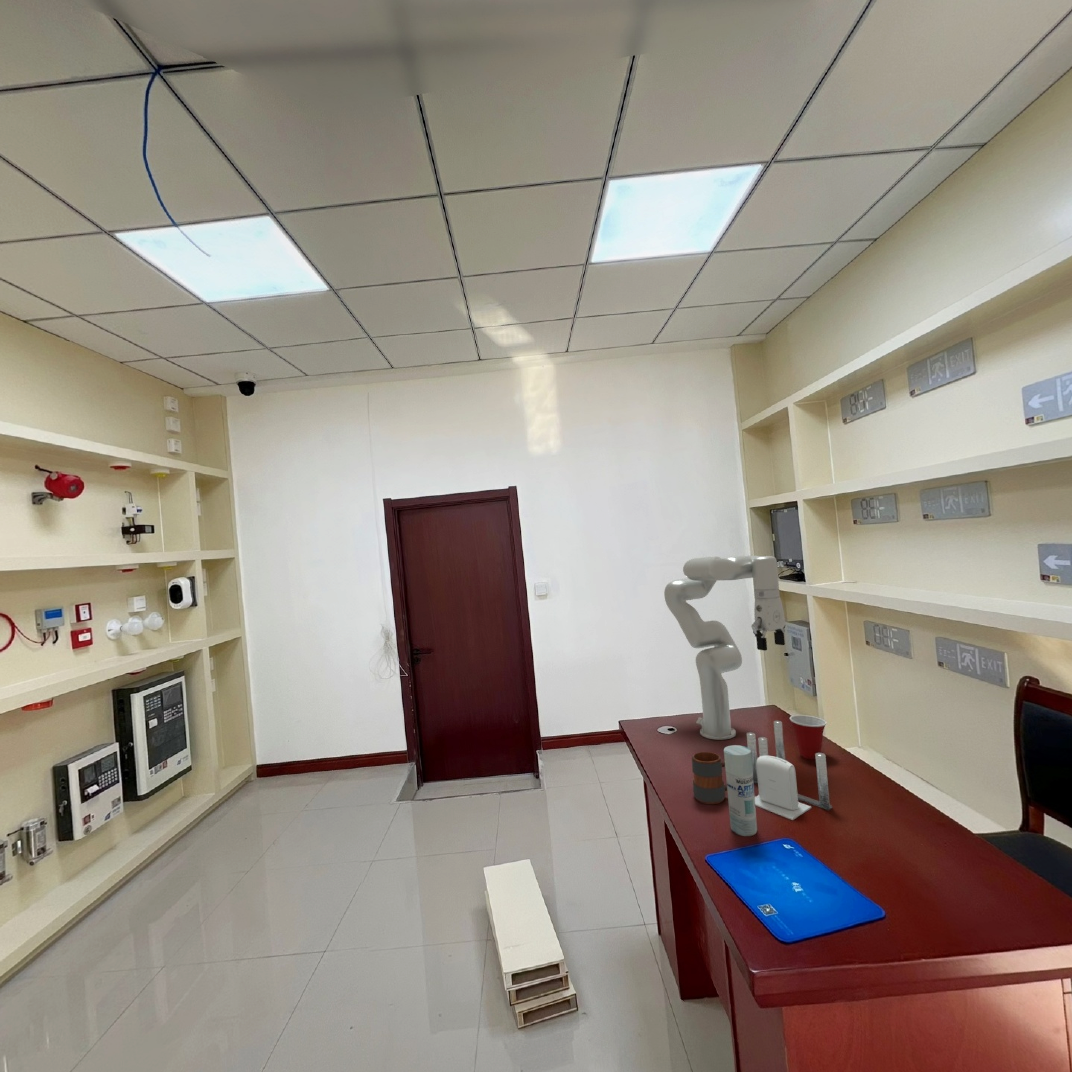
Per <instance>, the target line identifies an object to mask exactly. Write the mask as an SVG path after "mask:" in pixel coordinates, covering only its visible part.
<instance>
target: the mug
mask: <svg viewBox="0 0 1072 1072" xmlns="http://www.w3.org/2000/svg"><path fill="white" fill-rule="evenodd" d="M691 763H692V765H691V766H692V773H693V780H692V781H693V782H692V786H693V787H692V789H693V790H692V791H693V796H694V797H695V799H696V801H698V802H700V803H702V804H705V805H706V804H707V805H718V804H721V803H722V802H723V801H724V800H725V798H726V792H728V791H727V783H726V784H725V782H724V780H723V768H725V761H722V758H721V756H720V755H719V754H717V753H715V752H710V751H699V752H696V753H694V754H693V755H692V756H691Z"/></svg>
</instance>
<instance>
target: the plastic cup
mask: <svg viewBox="0 0 1072 1072" xmlns="http://www.w3.org/2000/svg"><path fill="white" fill-rule="evenodd" d="M789 720H790V723H791V725H792V729H793V732H794V736H795V740H796V746H797V747H798V751H799V754H800V757H801V758H803V759H807V760H816V757H815V754H816V753H822V752H821V751H822V747H823V746H822V745H823V735H824V730H825V727H826V725H827V721H826V720H825V719H823V718H820V717H817V716H813V715H806V714H805V715H804V714H795V715H791V716H790V717H789Z"/></svg>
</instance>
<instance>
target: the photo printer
mask: <svg viewBox="0 0 1072 1072" xmlns="http://www.w3.org/2000/svg"><path fill="white" fill-rule="evenodd" d="M756 767H757V778H758V783H757V786H758V788H757V789H758V795H759V797H760V799H761V800H763V801H766V802H769V803H771V804H774V805H777V806H780V807H784V808H787V809H790V810H795V809H797V808H798V802H799V800H798V794H799V793H798V787H797V786H798V785H797V773H796V768H795V766H794V765H793V764H792V763H791V762H789V761H788V760H786V759H785V760H783V759H781V758H778V757H777V756H773V755H768V756H760V755H759V757H758V756H757V762H756Z"/></svg>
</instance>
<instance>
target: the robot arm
mask: <svg viewBox="0 0 1072 1072" xmlns="http://www.w3.org/2000/svg"><path fill="white" fill-rule="evenodd" d="M682 572H683V574H684V576H685V577H686V578H682V579H681V578H680V579H676V580H672V581H670V582H668V583H667V584H666V586H665V588H664V601H665V603H666V606H667V608H668V610H669V611H670V612H671V614H672V615H673V617H674V618H675V619H676V621H677V623H678V624H679V626H680V628H681V630H682V633H683V635H684V636H685V639H686V640H687V641H688V643H689V645H690V646H691V648H694V649H702V650H700V651H699V652H698V653H697V654H696V656H695V665H696V670H697V673H698V678H699V684H700V695H701V704H702V706H701V707H702V708H701V709H702V717H701V716H699V717H698V718H697V720H696V722H695V723H696V725H700V726H701V728H700V729H699V735H701V736H702V737H703V738H706V739H709V740H716V741H717V740H718V741H720V740H721V741H722V740H730V739H733V738H734V737H736V735H737V731H736V729H735V728H733V727H732V723H731V722H732V721H731V712H730V711H731V709H730V700H729V689H728V683H727V682H726V680H725V679H724V677H723V675H722V674H723V673H728V672H733V671H735V670H736V671H737V670H738V669H740V668H741V666H742V664H743V658H742V653H741V652H740V649H739V647H738V646H737V644H736V643H735V640H734V638H733V637H732V635H731V634H730V632H729V630H728V628H727V627H726V626H725V625H724V623H722V622H721V621H718V620H707V621H705V620H703V619H702V618H701V615H700V614H699V612H698V610H697V609H696V608H695V607H693V605H692V604H690V603H688V602H687V601H691V600H692V601H693V600H700V599H704V598H705V597H708V596H707V595H709V593H710V592H711V590H712V588H714V586H715V584H716V583H717V582H718V581H736V580H738V581H739V580H744V579H752V580H753V593H754V594H753V595H754V606H753V608H754V611H753V612H754V613H753V614H754V622H753V623H752V624H751V626H750V627H751V629H752V631H753V632H752V633H753V634H754V637H755V638H756V649H757V650H759V651H765V652H766V651H767V650H768V642H767V637H766V634H767V632H773V631H774V632H773V635H774V636H773V637H774V645H778V646H785V645H786V643H785V631H786V630H785V628H786V621H787V617H785V612H784V607H783V603H782V599H781V596H780V595H781V594H780V587H779V585H780V584H779V573H778V572H779V571H778V560H777V558H776V557H775V556H772V555H765V556H764V555H762V556H760V555H753V554H751V555H743V556H742V555H741V556H731V557H724V558H723V557H722V558H721V557H719V556H705V557H694V558H691V559H689V560H687V561H686V562H685V563H684V565H683V568H682ZM704 648H705V649H704Z"/></svg>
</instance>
